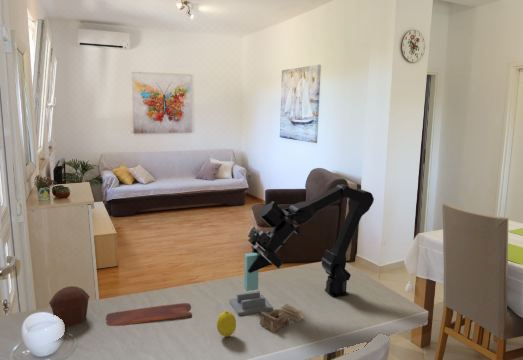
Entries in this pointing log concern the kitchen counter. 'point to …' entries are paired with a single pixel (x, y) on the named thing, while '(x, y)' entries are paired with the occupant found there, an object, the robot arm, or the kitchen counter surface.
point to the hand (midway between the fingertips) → (247, 270)
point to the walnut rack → (273, 320)
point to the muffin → (70, 305)
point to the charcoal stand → (250, 303)
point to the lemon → (226, 324)
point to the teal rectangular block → (250, 278)
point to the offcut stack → (291, 312)
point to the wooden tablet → (149, 314)
